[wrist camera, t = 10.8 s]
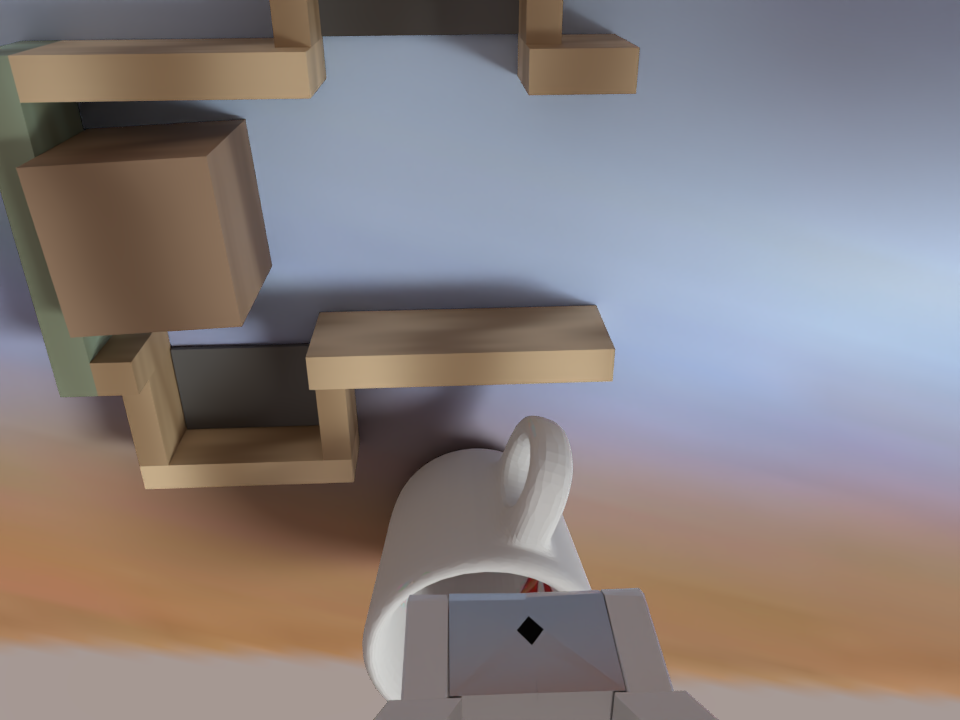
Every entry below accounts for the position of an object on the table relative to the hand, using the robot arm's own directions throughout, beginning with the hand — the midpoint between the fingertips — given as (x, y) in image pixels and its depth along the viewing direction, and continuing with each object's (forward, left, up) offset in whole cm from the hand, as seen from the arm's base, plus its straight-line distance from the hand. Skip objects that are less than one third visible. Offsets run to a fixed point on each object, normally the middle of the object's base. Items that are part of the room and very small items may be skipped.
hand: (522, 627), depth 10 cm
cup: (-1, +11, -19) cm, 22 cm away
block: (+10, 0, -19) cm, 21 cm away
